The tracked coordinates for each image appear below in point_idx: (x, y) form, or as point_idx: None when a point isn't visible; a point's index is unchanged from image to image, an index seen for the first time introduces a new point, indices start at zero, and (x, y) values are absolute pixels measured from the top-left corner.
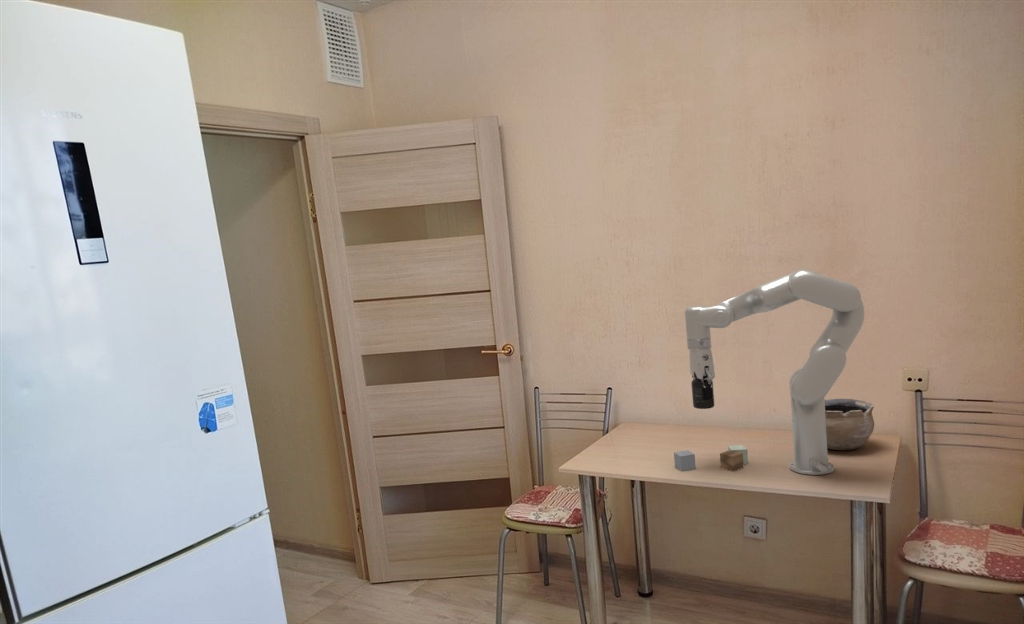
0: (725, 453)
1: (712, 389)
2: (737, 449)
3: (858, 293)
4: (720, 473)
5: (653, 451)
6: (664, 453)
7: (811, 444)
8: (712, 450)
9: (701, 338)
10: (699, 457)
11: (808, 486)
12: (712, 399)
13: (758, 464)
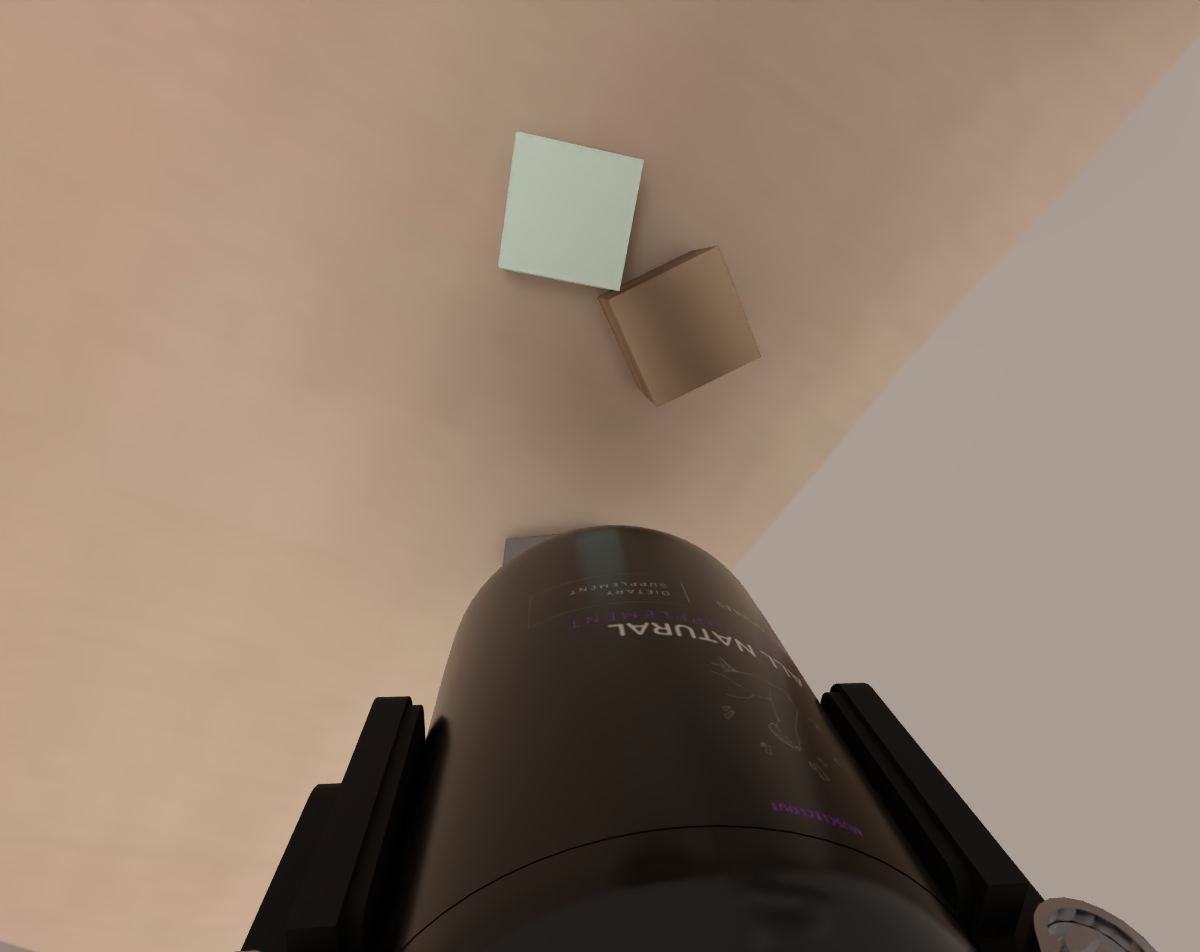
0: (677, 371)
1: (849, 758)
2: (618, 239)
3: None
4: (729, 431)
5: (150, 652)
6: (217, 602)
7: None
8: (226, 274)
9: None
10: (375, 427)
11: (1156, 53)
12: (780, 644)
13: (665, 116)
